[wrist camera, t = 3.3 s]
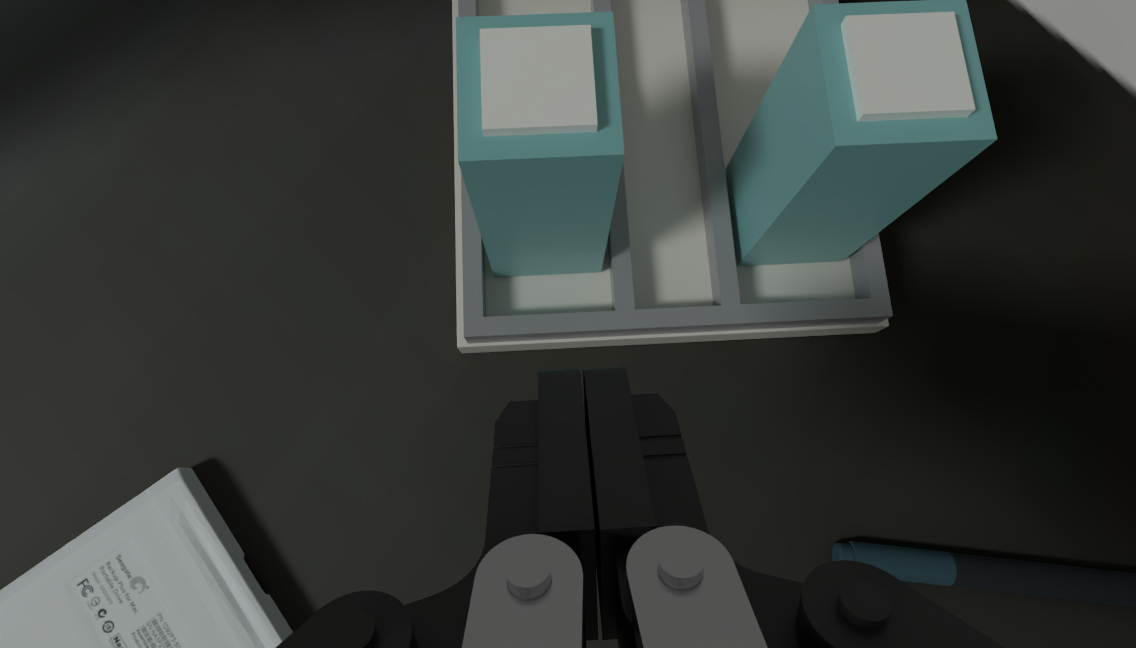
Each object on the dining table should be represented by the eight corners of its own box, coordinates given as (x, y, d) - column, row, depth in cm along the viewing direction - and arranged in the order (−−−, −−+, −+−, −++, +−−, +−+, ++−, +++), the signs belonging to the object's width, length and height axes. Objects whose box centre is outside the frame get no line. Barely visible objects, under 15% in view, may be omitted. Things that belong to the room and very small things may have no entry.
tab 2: (841, 261, 22) (1006, 131, 14) (737, 266, 22) (842, 138, 14) (826, 164, 23) (973, -11, 15) (725, 169, 23) (817, -6, 15)
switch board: (874, 332, 23) (906, 317, 20) (461, 353, 22) (452, 340, 20) (813, -40, 26) (834, -84, 24) (455, -28, 26) (446, -71, 24)
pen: (1321, 628, 21) (1365, 636, 20) (827, 572, 21) (842, 576, 20) (1315, 592, 21) (1358, 598, 20) (827, 537, 21) (842, 539, 20)
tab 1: (600, 272, 22) (625, 147, 14) (494, 277, 22) (455, 154, 14) (594, 174, 23) (613, 1, 14) (491, 178, 22) (453, 7, 14)
